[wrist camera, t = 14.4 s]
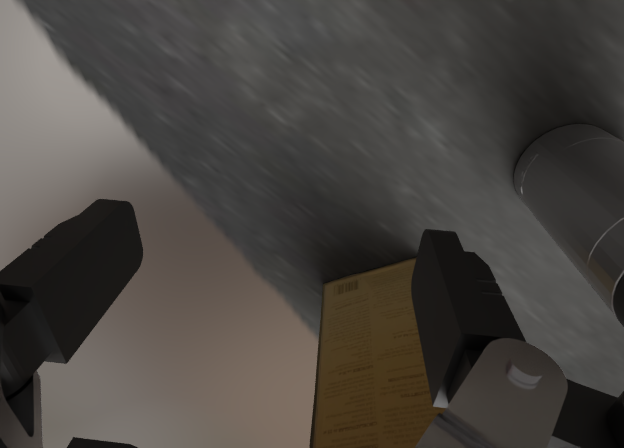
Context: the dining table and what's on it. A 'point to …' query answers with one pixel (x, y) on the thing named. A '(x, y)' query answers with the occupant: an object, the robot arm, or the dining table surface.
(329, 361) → the food packaging
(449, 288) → the robot arm
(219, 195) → the dining table surface
